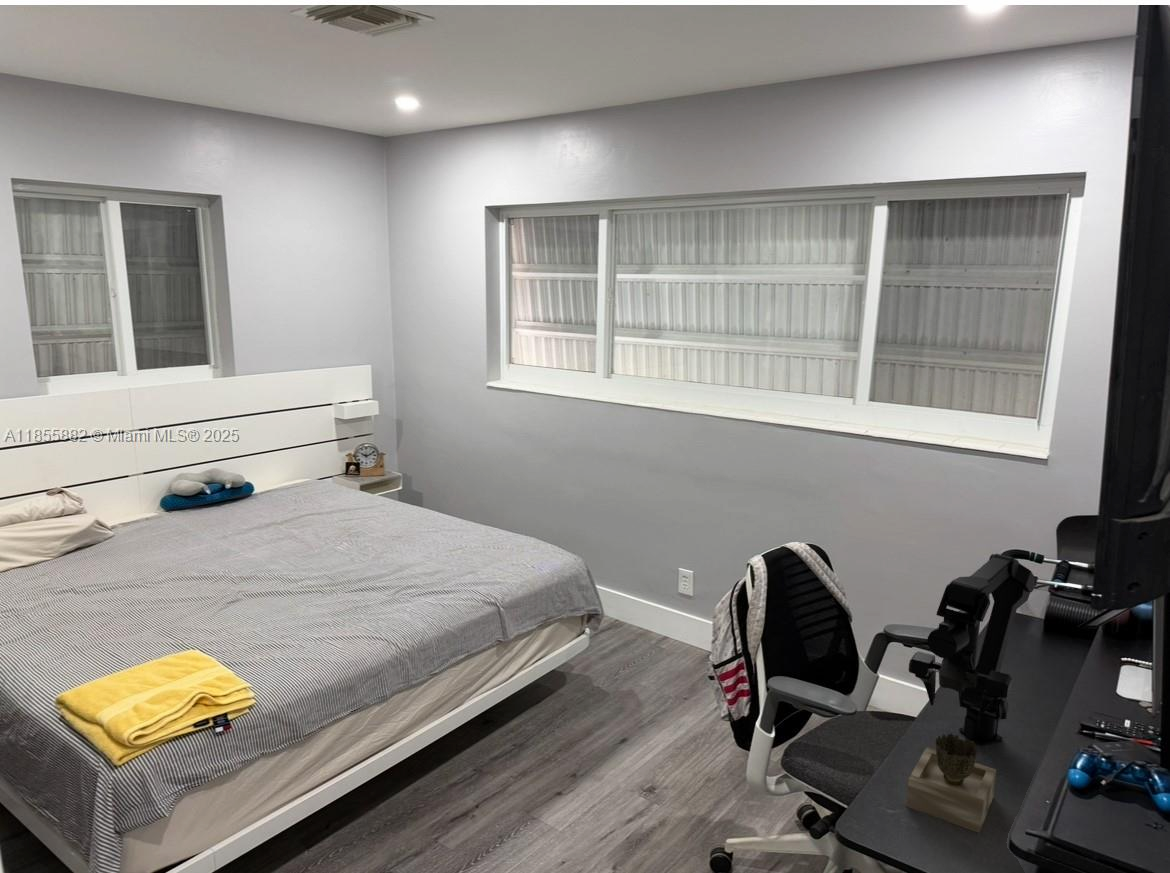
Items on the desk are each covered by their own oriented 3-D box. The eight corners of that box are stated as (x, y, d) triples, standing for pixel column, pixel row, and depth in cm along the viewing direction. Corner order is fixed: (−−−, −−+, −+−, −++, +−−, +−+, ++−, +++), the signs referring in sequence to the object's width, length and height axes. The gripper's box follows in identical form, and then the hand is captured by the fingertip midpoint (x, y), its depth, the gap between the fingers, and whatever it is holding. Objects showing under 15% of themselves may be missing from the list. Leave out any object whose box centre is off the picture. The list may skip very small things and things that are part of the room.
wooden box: (924, 773, 167) (926, 747, 166) (993, 797, 160) (996, 769, 158) (906, 806, 157) (908, 778, 156) (979, 833, 149) (982, 804, 148)
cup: (980, 780, 157) (983, 743, 156) (966, 798, 152) (970, 759, 151) (940, 765, 162) (944, 728, 161) (926, 781, 157) (929, 744, 156)
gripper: (903, 644, 164) (898, 714, 167) (1005, 670, 153) (997, 744, 156) (918, 625, 173) (913, 692, 176) (1016, 648, 162) (1008, 719, 165)
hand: (955, 711), depth 168 cm, fingers open, 9 cm apart
